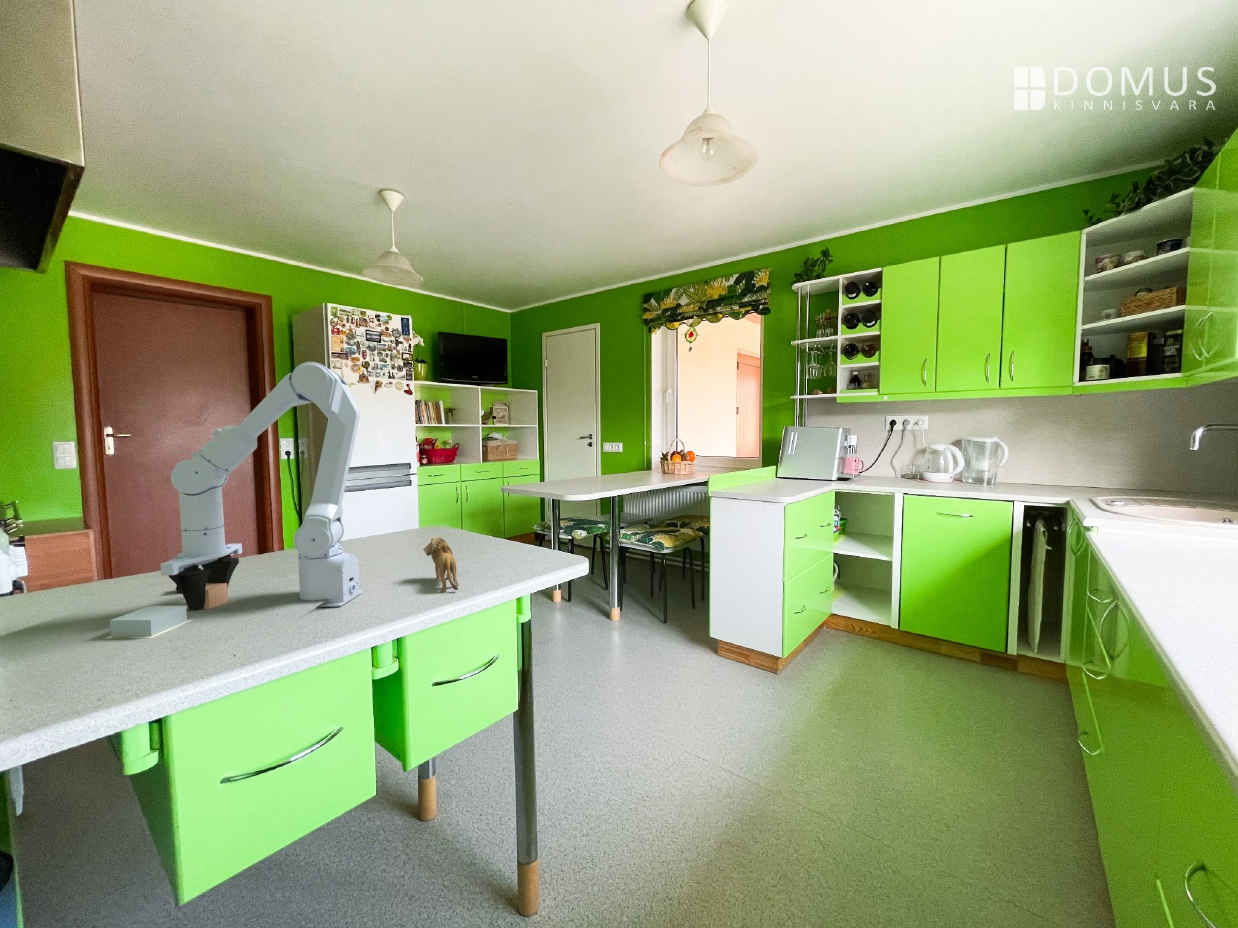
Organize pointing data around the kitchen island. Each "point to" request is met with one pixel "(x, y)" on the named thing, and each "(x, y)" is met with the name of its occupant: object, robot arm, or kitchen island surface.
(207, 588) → the top block
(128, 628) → the base block
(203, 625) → the kitchen island surface
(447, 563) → the lion figurine
